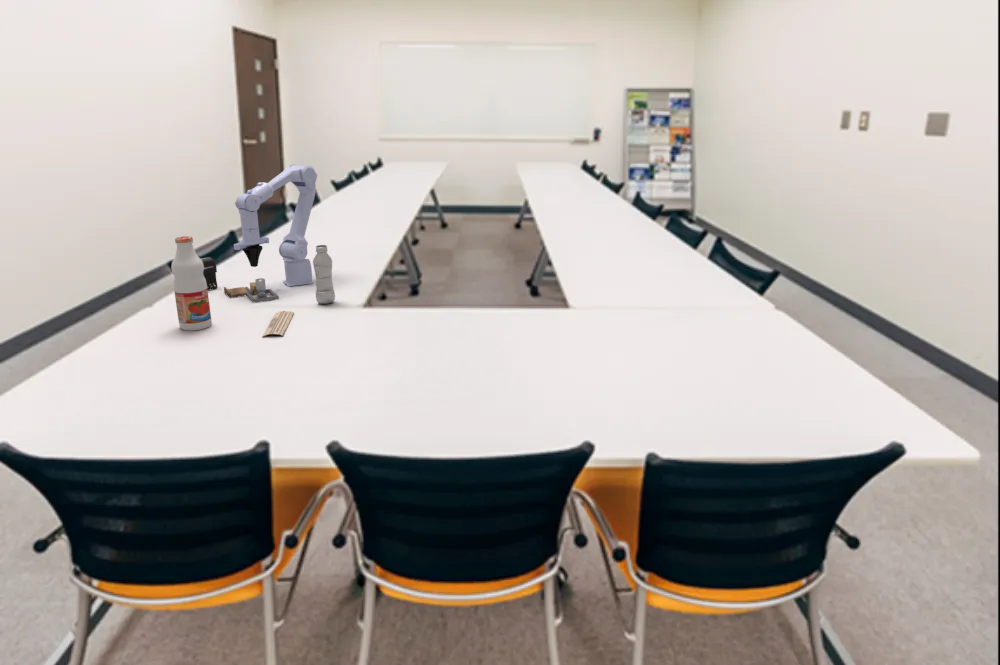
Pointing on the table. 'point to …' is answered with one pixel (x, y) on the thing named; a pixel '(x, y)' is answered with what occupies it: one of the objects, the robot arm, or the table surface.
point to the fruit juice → (190, 287)
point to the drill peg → (260, 288)
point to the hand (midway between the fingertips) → (254, 266)
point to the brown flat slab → (235, 291)
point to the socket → (274, 296)
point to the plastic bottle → (323, 276)
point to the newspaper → (279, 323)
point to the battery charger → (210, 272)
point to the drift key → (253, 287)
